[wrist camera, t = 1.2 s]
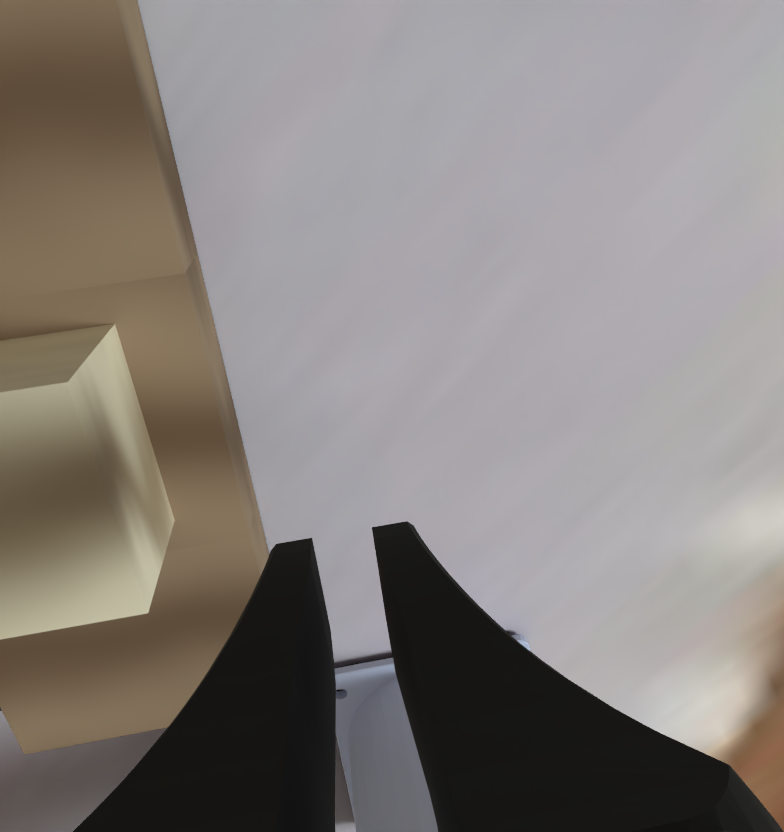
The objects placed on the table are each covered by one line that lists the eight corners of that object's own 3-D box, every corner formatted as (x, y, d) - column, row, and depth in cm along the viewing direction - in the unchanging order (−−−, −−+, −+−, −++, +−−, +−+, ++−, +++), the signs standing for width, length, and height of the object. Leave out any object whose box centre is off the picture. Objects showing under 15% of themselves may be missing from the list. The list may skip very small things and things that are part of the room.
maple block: (174, 520, 20) (148, 613, 16) (-38, 556, 19) (-113, 659, 16) (114, 324, 17) (67, 382, 14) (-131, 360, 17) (-247, 430, 13)
